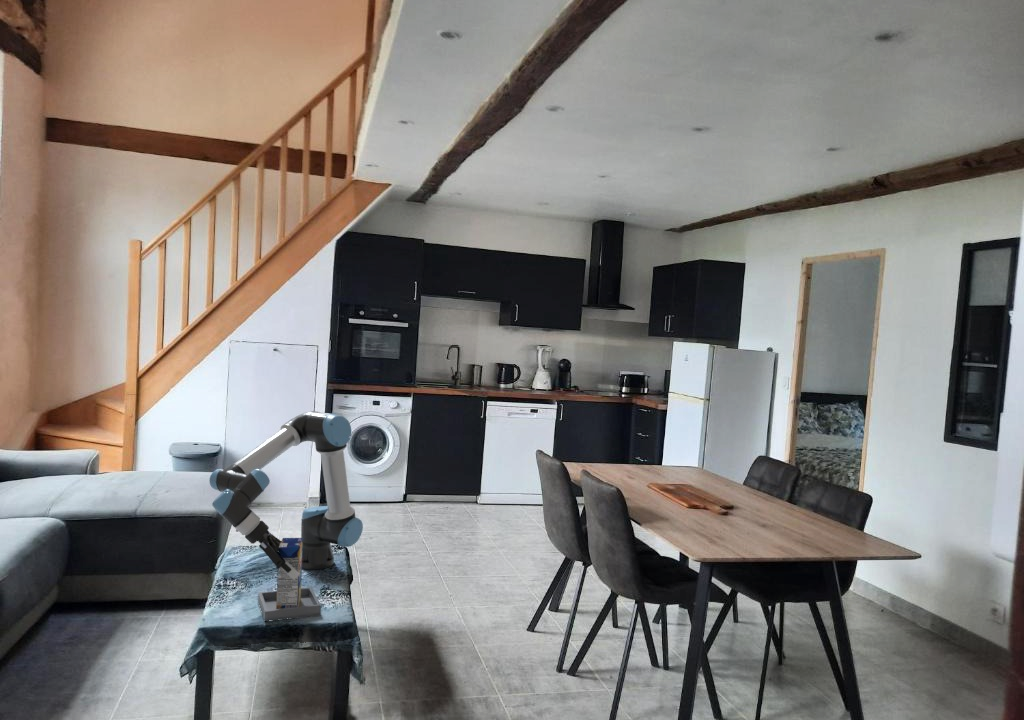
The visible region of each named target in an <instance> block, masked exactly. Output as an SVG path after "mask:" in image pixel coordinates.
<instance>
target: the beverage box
mask: <svg viewBox="0 0 1024 720" xmlns="http://www.w3.org/2000/svg"><path fill="white" fill-rule="evenodd" d="M280 541H281V543H280V546H279V551H278V552H279V553H280V555H281V556H282V557H283V559H284V560H285V561H287V562H288V563H289V564H290V565H291V566H292V567H293V568H295V569H296V570H297V571H298V572H299V573H300V575H299V576H298V577H297V578H296V579H295V580H293V579H292V578H291V577H290V576H289V575H288V574H287V573H285V572H284V571H283V570H282V569H281V568H279V569H277V579H276V580H277V583H276V591H277V602H276V609H282V608H291V607H299V604H300V600H301V588H302V573H303V568H302V554H303V538H301V537H282V539H281V540H280Z"/></svg>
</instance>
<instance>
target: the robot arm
mask: <svg viewBox="0 0 1024 720" xmlns="http://www.w3.org/2000/svg"><path fill="white" fill-rule="evenodd" d="M350 437H352V426H351V424H350V422H349V420H348V418H346V417H345V416H344V415H339V414H336V413H328V412H320V411H313V410H312V411H311V410H310V411H306V412H303V413H301V414H299V415H297V416H295V417H293V418H291V419H290V420H288V421H287V422H285V423H283V425H281V427H280V429H279V430H278V431H277V432H276V433H274V434H273V435H271V436H270V437H269V438H267V439H266V440H264V441H263V442H262V443H260V444H259V445H257V446H256V447H254V449H252V450H251V451H249V452H248V453H246V454H245V455H244V456H242V457H241V458H239V459H238V460H237V461H236V462H234V463H232V464H231V465H230V466H228V467H227V468H218V469H215V470H214V471H213V472H211V474H210V476H209V486H211V488H212V489H213V490H215V491H219V492H221V493H220V494H219V495H218V496H217V497H216V498H214V500H213V501H212V507H213V508H214V510H215V511H216V512H217V513H218V514H219V515H220V516H221V517H222V518H224V520H226V521H227V522H228V523H229V524H230V525H231V526H232V527H233V528H235V532H236V533H237V532H239V534H241V535H242V536H244V538H245V539H246V541H247V542H249V543H250V544H253V545H254V544H255V543H257V542H258V543H259V545H258V547H259V548H260V549H261V550H262V551H263V552H264V553H265V555H267V557H268V558H269V559H270V561H271V562H272V563H273V564H274V566H275V567H276V569H277V570H278V569H279V568H281V569H282V570H283V571H284V572H285V573H287V574H288V575H289V576H290V577H291V578H292V579H293V580H295V579H296V578H297V577H298V576H299V575H300V573H299V572H298V571H297V570H296V569H295V568H293V567H292V566H291V565H290V564H289V563H288V562H287V561H285V560H284V559H283V557H282V556H281V555H280V553H279V546H280V543H281V541H282V540H280V539H279V538H277V537H276V536H275V535H274V534H273V533H271V531H269V528H270V527H269V526H268V525H267V523H266V522H264V521H263V520H261V518H260V517H259V516H258V515H257V514H256V513H255V512H254V511H253V510H252V509H251V508H250V505H251V504H252V503H254V501H255V500H256V499H257V498H258V497H259V496H260V495H261V494H263V493H264V491H265V490H266V489H267V487H268V486H269V484H270V480H271V479H270V478H269V476H268V475H267V473H265V472H264V471H263V470H262V469H264V468H265V467H266V466H267V465H268V464H271V463H272V462H273V461H274V460H276V459H277V458H278V457H280V456H281V455H282V454H283V453H285V452H286V451H287V450H289V449H290V448H291V447H297V446H299V445H300V444H301V443H304V442H311V443H315V444H314V445H315V451H316V452H317V453H319V454H320V457H321V466H322V475H323V482H324V483H323V484H324V489H325V497H326V505H321V506H320V505H319V506H312V507H311V506H310V507H308V508H305V509H304V510H303V511H302V514H301V525H300V526H301V527H300V528H301V529H300V531H301V534H300V536H301V537H300V538H303V554H302V570H303V569H304V570H323V569H328V568H330V567H333V566H334V564H335V556H334V552H333V549H332V546H331V544H334V545H336V546H337V545H338V546H339V547H345V548H346V547H347V548H350V547H353V546H354V545H355V544H357V542H358V541H359V540H360V538H361V537H362V534H363V529H364V527H363V526H364V525H363V522H362V520H361V519H360V518H359V517H356V510H355V508H354V507H353V506H351V502H350V493H349V486H348V479H347V478H348V477H347V471H346V470H347V469H346V462H345V453H344V450H346V448H347V446H348V443H349V441H350V439H351V438H350ZM327 567H328V568H327Z"/></svg>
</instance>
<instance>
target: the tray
mask: <svg viewBox="0 0 1024 720" xmlns="http://www.w3.org/2000/svg"><path fill="white" fill-rule="evenodd" d="M257 595H258V597H257V598H258V599H257V603H259V604H258V606H259V605H260V607H259V609H260V608H261V610H260V612H261V611H262V613H261V615H262V614H263V616H262V618H263V617H264V619H263V621H264V620H265V621H269V620H278V619H287V618H288V619H287V620H290V619H289V618H295V619H300V618H299V617H304V618H308V617H307V616H312V617H318V615H322V604H321V603H320V600H319V598H318V597H317V595H316V593H315V591H314V589H313V588H312V587H311V586H309V587H308V586H307V587H301V600H300V604H299V607H291V608H282V609H276V602H277V590H271V591H259V592H258V593H257ZM297 617H298V618H297Z"/></svg>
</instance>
